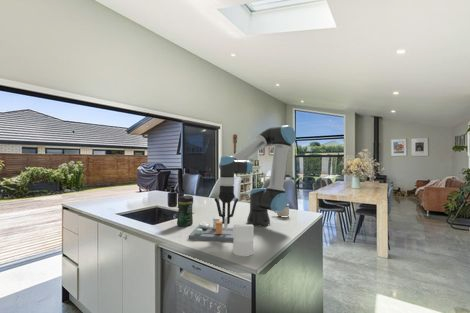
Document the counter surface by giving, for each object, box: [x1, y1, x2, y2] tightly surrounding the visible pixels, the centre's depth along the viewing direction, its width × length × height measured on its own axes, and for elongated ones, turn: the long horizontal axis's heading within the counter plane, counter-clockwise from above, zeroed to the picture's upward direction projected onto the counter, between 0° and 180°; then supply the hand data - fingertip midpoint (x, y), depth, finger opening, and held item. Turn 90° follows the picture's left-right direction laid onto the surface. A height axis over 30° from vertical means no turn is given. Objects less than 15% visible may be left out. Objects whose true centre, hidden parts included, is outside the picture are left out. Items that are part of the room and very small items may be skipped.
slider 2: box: [216, 220, 224, 234], centre depth 126 cm, size 3×3×6 cm
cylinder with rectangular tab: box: [232, 223, 255, 257], centre depth 107 cm, size 9×9×12 cm
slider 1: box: [212, 216, 221, 229], centre depth 135 cm, size 3×3×6 cm
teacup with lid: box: [273, 203, 290, 217], centre depth 179 cm, size 12×9×12 cm
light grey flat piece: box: [198, 220, 211, 229], centre depth 136 cm, size 5×7×1 cm
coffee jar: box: [176, 194, 194, 228], centre depth 150 cm, size 10×8×19 cm
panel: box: [188, 225, 234, 243], centre depth 131 cm, size 24×18×4 cm
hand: (225, 229), depth 125 cm, fingers closed
